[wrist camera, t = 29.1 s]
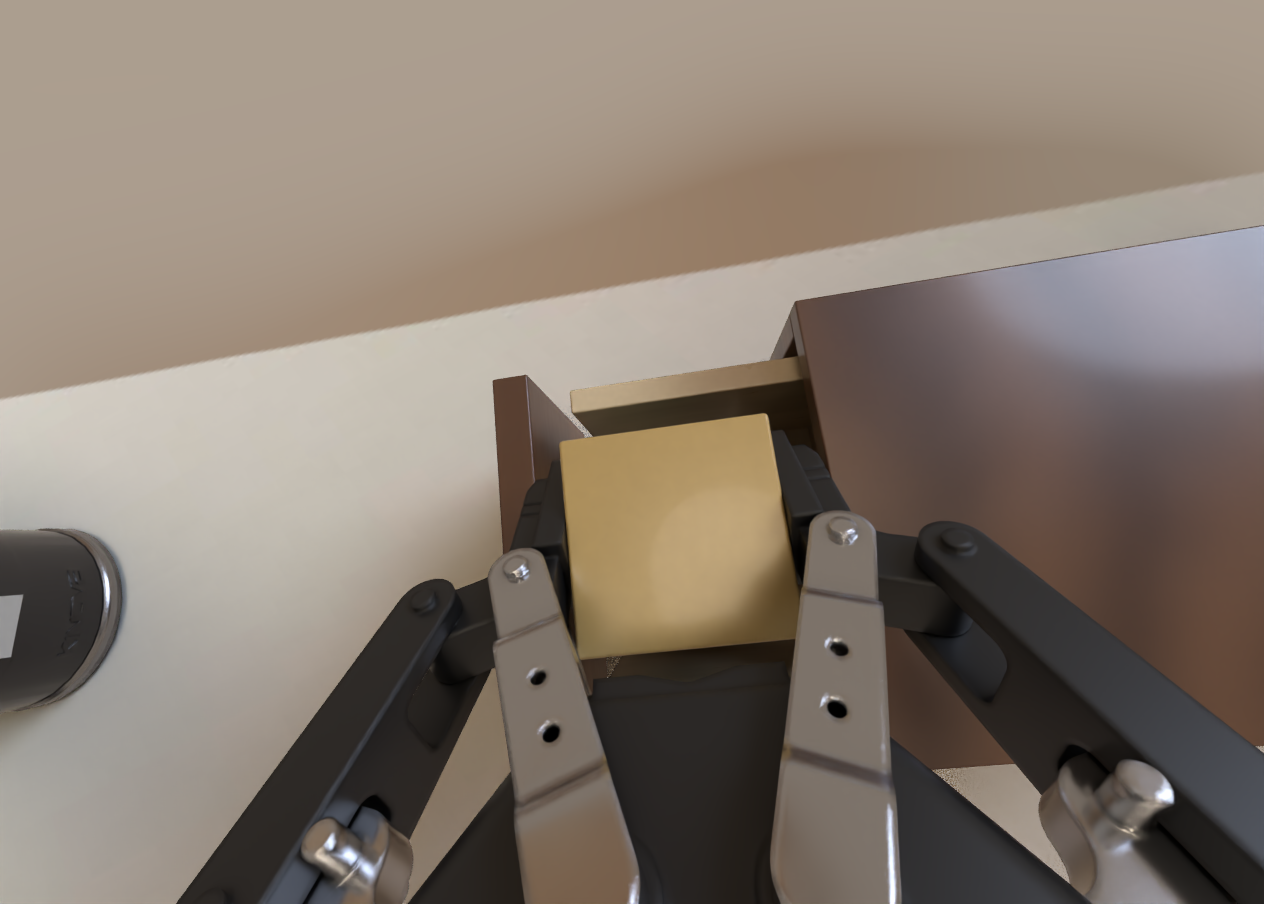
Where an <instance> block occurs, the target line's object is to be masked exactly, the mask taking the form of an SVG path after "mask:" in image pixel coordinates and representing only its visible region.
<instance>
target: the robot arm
mask: <svg viewBox="0 0 1264 904" xmlns="http://www.w3.org/2000/svg"><path fill="white" fill-rule="evenodd" d="M771 435H772V441H773V447H774V452H775V458H776V463H777V469H778V475H779V480H780V486H781V492H782V497H783V503H784V509H785V514H786V520H787V525H788V531H789V537H790V542H791V548H792V553H793V559H794V565H795V570H796V576H797V581H798V585H799V584H802V585H803V588H802V589H801V596H800V605H799V614H798V622H797V631H796V640H795V648H794V657H793V666H792V675H791V677H790V676H789V675H788V672H787V668H786V665H785V661H779V662H768V663H758V664H747V665H737V666H734V667H731V668H728V669H725V670H722V671H720V672H717V673H714V674H711V675H708V676H706V677H703V678H700V679H697V680H694V681H691V682H681V681H675V680H668V679H662V678H656V677H650V676H643V675H632V676H621V677H611V678H600V679H593V690H592V693H591V690H590V687H589V684H588V681H587V678H586V675H585V672H584V669H583V666H582V663H581V660H580V657H579V654H578V651H577V648H576V644H575V641H574V638H573V635H572V632H571V629H570V626H569V623H568V622H569V615H570V609H571V608H573V602H572V590H571V579H570V567H569V555H568V544H567V532H566V520H565V509H564V497H563V485H562V474H561V462H560V460H553V461H552V462H551V466H550V470H549V474H548V478H545V479H537V480H536V481H535V482H534V484H533V485H532V486H531V487H530V488H529V490H528V491H527V493H526V496H525V499H524V503H523V507H522V510H521V513H520V517H519V520H518V524H517V527H516V530H515V534H514V537H513V541H512V544H511V548H510V551H509V552H508V553H506V554H504V555H503V556H501V557H500V558H499V559H498V560H496V561H495V563H494V564H493V565H492V567H491V568H490V571H489V574H488V577H487V578H485V579H483V580H481V581H478V582H476V583H473V584H470V585H468V586H465V587H462V588H460V589H457V590H455V588H454V586H453V585H452V584H451V583H450V582H449V581H447V580H444V579H433V580H428V581H425V582H423V583H420V584H419V585H417V586H415V587H413V588H412V589H411V590H409V591H408V592H407V593H406V594H405V595H404V596H403V597H402V598H401V599H400V601H399V602H398V603H397V605H396V606H395V607H394V609H393V610H392V611H391V613H390V614H389V616H388V617H387V618H386V620H385V621H384V622H383V624H382V625H381V626H380V628H379V629H378V630H377V632H376V633H375V634H374V636H373V637H372V639H371V640H370V641H369V643H368V644H367V645H366V647H365V648H364V649H363V651H362V652H361V653H360V655H359V656H358V658H357V659H356V660H355V662H354V663H353V664H352V666H351V667H350V668H349V670H348V671H347V672H346V674H345V675H344V677H343V678H342V679H341V681H340V682H339V683H338V685H337V686H336V687H335V689H334V690H333V691H332V693H331V694H330V696H329V697H328V698H327V700H326V701H325V702H324V704H323V705H322V706H321V708H320V709H319V710H318V712H317V713H316V715H315V716H314V717H313V719H312V720H311V721H310V723H309V724H308V725H307V727H306V728H305V729H304V731H303V732H302V734H301V735H300V736H299V738H298V739H297V740H296V742H295V743H294V744H293V746H292V747H291V748H290V750H289V751H288V753H287V754H286V755H285V757H284V758H283V759H282V761H281V762H280V763H279V765H278V766H277V767H276V769H275V770H274V772H273V773H272V774H271V776H270V777H269V778H268V780H267V781H266V782H265V784H264V785H263V786H262V788H261V789H260V791H259V792H258V793H257V795H256V796H255V797H254V799H253V800H252V801H251V803H250V804H249V805H248V807H247V808H246V809H245V811H244V812H243V814H242V815H241V816H240V818H239V819H238V820H237V822H236V823H235V824H234V826H233V827H232V828H231V830H230V831H229V833H228V834H227V835H226V837H225V838H224V839H223V841H222V842H221V843H220V845H219V846H218V847H217V849H216V850H215V852H214V853H213V854H212V856H211V857H210V858H209V860H208V861H207V862H206V864H205V865H204V866H203V868H202V869H201V871H200V872H199V873H198V875H197V876H196V877H195V879H194V880H193V881H192V883H191V884H190V885H189V887H188V888H187V890H186V891H185V892H184V894H183V895H182V896H181V898H180V899H179V900H178V902H177V903H176V904H402V903H403V902H404V900H405V898H406V896H407V894H408V890H409V879H410V876H411V872H412V868H413V850H412V846H411V843H410V841H409V839H410V837H411V835H412V833H413V831H414V829H415V827H416V825H417V823H418V821H419V819H420V817H421V815H422V813H423V810H424V808H425V806H426V804H427V802H428V800H429V798H430V796H431V794H432V792H433V790H434V788H435V786H436V784H437V782H438V779H439V777H440V775H441V773H442V771H443V769H444V767H445V765H446V763H447V761H448V759H449V757H450V755H451V753H452V751H453V748H454V746H455V744H456V742H457V740H458V738H459V736H460V734H461V732H462V730H463V728H464V726H465V724H466V722H467V720H468V717H469V715H470V713H471V711H472V709H473V707H474V705H475V703H476V701H477V699H478V697H479V695H480V693H481V691H482V689H483V686H484V684H485V682H486V680H487V678H488V676H489V674H490V672H491V669H493V668H495V667H496V674H497V681H498V687H499V694H500V701H501V708H502V714H503V721H504V728H505V735H506V741H507V748H508V755H509V761H510V768H511V772H510V773H509V775H508V776H507V777H506V778H505V780H504V781H503V782H502V784H501V785H500V786H499V787H498V789H497V790H496V791H495V793H494V794H493V795H492V796H491V798H490V799H489V800H488V802H487V803H486V804H485V805H484V807H483V808H482V809H481V810H480V812H479V813H478V814H477V816H476V817H475V818H474V819H473V821H472V822H471V823H470V825H469V826H468V827H467V828H466V830H465V831H464V832H463V834H462V835H461V836H460V837H459V839H458V840H457V841H456V842H455V844H454V845H453V846H452V848H451V849H450V850H449V851H448V853H447V854H446V855H445V857H444V858H443V859H442V860H441V862H440V863H439V864H438V865H437V867H436V868H435V869H434V871H433V872H432V873H431V874H430V876H429V877H428V878H427V880H426V881H425V882H424V883H423V885H422V886H421V887H420V889H419V890H418V891H417V892H416V894H415V895H414V896H413V897H412V899H411V900H410V901H409V903H408V904H1264V753H1263V752H1261V751H1260V750H1259V749H1258V748H1256V747H1255V746H1254V745H1253V744H1251V743H1250V742H1249V741H1247V740H1246V739H1245V738H1244V737H1242V736H1241V735H1240V734H1239V733H1237V732H1236V731H1235V730H1233V729H1232V728H1231V727H1230V726H1228V725H1227V724H1226V723H1225V722H1223V721H1222V720H1221V719H1219V718H1218V717H1217V716H1216V715H1214V714H1213V713H1212V712H1211V711H1209V710H1208V709H1207V708H1205V707H1204V706H1203V705H1202V704H1200V703H1199V702H1198V701H1197V700H1195V699H1194V698H1193V697H1192V696H1190V695H1189V694H1188V693H1186V692H1185V691H1184V690H1183V689H1181V688H1180V687H1179V686H1178V685H1176V684H1175V683H1174V682H1172V681H1171V680H1170V679H1169V678H1167V677H1166V676H1165V675H1164V674H1162V673H1161V672H1160V671H1158V670H1157V669H1156V668H1155V667H1153V666H1152V665H1151V664H1150V663H1148V662H1147V661H1146V660H1144V659H1143V658H1142V657H1141V656H1139V655H1138V654H1137V653H1136V652H1134V651H1133V650H1132V649H1130V648H1129V647H1128V646H1127V645H1125V644H1124V643H1123V642H1122V641H1120V640H1119V639H1118V638H1116V637H1115V636H1114V635H1113V634H1111V633H1110V632H1109V631H1108V630H1106V629H1105V628H1104V627H1103V626H1101V625H1100V624H1099V623H1097V622H1096V621H1095V620H1094V619H1092V618H1091V617H1090V616H1089V615H1087V614H1086V613H1085V612H1083V611H1082V610H1081V609H1080V608H1078V607H1077V606H1076V605H1075V604H1073V603H1072V602H1071V601H1069V600H1068V599H1067V598H1066V597H1064V596H1063V595H1062V594H1061V593H1059V592H1058V591H1057V590H1055V589H1054V588H1053V587H1052V586H1050V585H1049V584H1048V583H1047V582H1045V581H1044V580H1043V579H1041V578H1040V577H1039V576H1038V575H1036V574H1035V573H1034V572H1033V571H1031V570H1030V569H1029V568H1027V567H1026V566H1025V565H1024V564H1022V563H1021V562H1020V561H1019V560H1017V559H1016V558H1015V557H1014V556H1012V555H1011V554H1010V553H1008V552H1007V551H1006V550H1005V549H1003V548H1002V547H1001V546H1000V545H998V544H997V543H996V542H994V541H993V540H992V539H991V538H989V537H988V536H987V535H986V534H984V533H983V532H981V531H980V530H978V529H976V528H974V527H971V526H969V525H966V524H963V523H959V522H953V521H937V522H932V523H929V524H927V525H925V526H924V527H923V528H922V529H921V530H920V532H919V534H918V537H914V536H905V535H896V534H889V533H884V532H880V531H877V530H875V529H874V527H873V525H872V524H871V523H870V522H869V521H868V520H867V519H865V518H864V517H862V516H860V515H858V514H855V513H852V512H851V510H850V508H849V507H848V505H847V503H846V501H845V500H844V498H843V496H842V494H841V493H840V491H839V489H838V488H837V486H836V484H835V482H834V481H833V479H832V478H831V477H830V474H829V472H828V470H827V468H825V465H824V463H823V462H822V460H821V458H820V456H819V455H818V453H816V452H815V451H813V450H812V449H811V448H809V447H808V446H806V445H805V444H802V445H794V446H791V444H790V442H789V440H788V438H787V436H786V434H785V432H784V431H783V430H782V429H781V430H774V431H771ZM121 601H122V592H121V582H120V577H119V572H118V569H117V566H116V564H115V562H114V560H113V558H112V556H111V554H110V553H109V551H108V550H107V549H106V547H105V546H104V545H103V544H102V543H101V542H99V541H98V540H97V539H96V538H94V537H92V536H91V535H89V534H87V533H84V532H81V531H78V530H72V529H38V530H4V529H0V714H1V713H5V712H9V711H20V710H25V709H30V708H34V707H38V706H42V705H45V704H49V703H52V702H54V701H57V700H59V699H61V698H63V697H65V696H66V695H68V694H69V693H71V692H72V691H74V690H75V689H76V688H78V687H79V686H80V685H81V684H82V683H83V682H84V681H85V680H86V679H87V678H88V677H89V676H90V675H91V674H92V673H93V672H94V670H95V669H96V668H97V667H98V665H99V664H100V662H101V661H102V659H103V658H104V656H105V654H106V653H107V651H108V649H109V647H110V645H111V643H112V640H113V638H114V635H115V632H116V629H117V626H118V622H119V617H120V611H121ZM885 626H888V627H894V628H900V629H903V630H904V632H905V633H906V634H907V636H908V637H909V638H910V639H911V640H912V642H913V643H914V644H915V645H916V646H917V647H918V649H919V650H920V651H921V652H922V653H923V655H924V656H925V657H926V658H927V659H928V661H929V662H930V663H931V664H932V665H933V666H934V668H935V669H936V670H937V671H938V672H939V674H940V675H941V676H942V677H943V678H944V680H945V681H946V682H947V683H948V684H949V686H950V687H951V688H952V689H953V690H954V691H955V693H956V694H957V695H958V696H959V697H960V699H961V700H962V701H963V702H964V703H965V705H966V706H967V707H968V708H969V709H970V710H971V712H972V713H973V714H974V715H975V716H976V718H977V719H978V720H979V721H980V722H981V724H982V725H983V726H984V727H985V728H986V730H987V731H988V732H989V733H990V734H991V735H992V737H993V738H994V739H995V740H996V741H997V743H998V744H999V745H1000V746H1001V747H1002V749H1003V750H1004V751H1005V752H1006V753H1007V754H1008V756H1009V757H1010V758H1011V759H1012V760H1013V762H1014V763H1015V764H1016V765H1017V766H1018V768H1019V769H1020V770H1021V771H1022V772H1023V774H1024V775H1025V776H1026V777H1027V778H1028V779H1029V781H1030V782H1031V783H1032V784H1033V785H1034V787H1035V788H1036V789H1037V790H1038V791H1039V793H1040V794H1041V795H1042V796H1041V798H1040V802H1039V817H1040V821H1041V824H1042V827H1043V829H1044V831H1045V833H1046V835H1047V837H1048V839H1049V840H1050V842H1051V844H1052V845H1053V847H1054V848H1055V850H1056V851H1057V853H1058V855H1059V856H1060V858H1061V860H1062V862H1063V863H1064V865H1065V868H1066V871H1067V873H1068V876H1069V881H1070V884H1069V883H1068V882H1067V881H1065V880H1064V879H1063V878H1062V877H1061V876H1059V875H1058V874H1057V873H1056V872H1054V871H1053V870H1052V869H1051V868H1050V867H1048V866H1047V865H1046V864H1045V863H1044V862H1042V861H1041V860H1040V859H1039V858H1037V857H1036V856H1035V855H1034V854H1033V853H1031V852H1030V851H1029V850H1028V849H1027V848H1025V847H1024V846H1023V845H1022V844H1020V843H1019V842H1018V841H1017V840H1016V839H1014V838H1013V837H1012V836H1011V835H1010V834H1008V833H1007V832H1006V831H1005V830H1003V829H1002V828H1001V827H1000V826H999V825H997V824H996V823H995V822H994V821H993V820H991V819H990V818H989V817H988V816H986V815H985V814H984V813H983V812H982V811H980V810H979V809H978V808H977V807H976V806H974V805H973V804H972V803H971V802H970V801H968V800H967V799H966V798H965V797H963V796H962V795H961V794H960V793H959V792H957V791H956V790H955V789H954V788H953V787H951V786H950V785H949V784H948V783H946V782H945V781H944V780H943V779H942V778H940V777H939V776H938V775H937V774H936V773H934V772H933V771H932V770H931V769H929V768H928V767H927V766H926V765H925V764H923V763H922V762H921V761H920V760H919V759H917V758H916V757H915V756H914V755H912V754H911V753H910V752H909V751H908V750H906V749H905V748H904V747H903V746H902V745H900V744H899V743H898V742H897V741H895V740H894V739H893V738H892V737H891V736H890V731H889V710H888V689H887V668H886V647H885ZM428 669H429V670H428ZM425 674H426V675H425ZM422 679H423V680H422ZM415 691H416V692H415ZM412 696H413V697H412Z"/></svg>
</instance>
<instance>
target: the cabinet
mask: <svg viewBox="0 0 1264 904" xmlns="http://www.w3.org/2000/svg"><path fill="white" fill-rule="evenodd" d="M796 356H798V358H799V363H800V368H801V373H802V378H803V383H804V388H805V393H806V398H807V403H808V408H809V414H810V419H811V424H812V429H813V434H814V439H815V444H816V449H817V453H818V455H819V456H820V458H821V460H822V462H823V463H824V465H825V468H827V470H828V472H829V474H830V477H831V478H832V479H833V481H834V482H835V484H836V486H837V488H838V489H839V491H840V493H841V494H842V496H843V498H844V500H845V501H846V503H847V505H848V507H849V508H850V510H851V512H852V513H855V514H858V515H860V516H862V517H864V518H865V519H867V520H868V521H869V522H870V523H871V524H872V525H873V527H874V529H875V530H877V531H880V532H884V533H889V534H896V535H905V536H914V537H918V534H919V532H920V530H921V529H922V528H923V527H924V526H925V525H927V524H929V523H932V522H937V521H953V522H959V523H963V524H966V525H969V526H971V527H974V528H976V529H978V530H980V531H981V532H983V533H984V534H986V535H987V536H988V537H989V538H991V539H992V540H993V541H994V542H996V543H997V544H998V545H1000V546H1001V547H1002V548H1003V549H1005V550H1006V551H1007V552H1008V553H1010V554H1011V555H1012V556H1014V557H1015V558H1016V559H1017V560H1019V561H1020V562H1021V563H1022V564H1024V565H1025V566H1026V567H1027V568H1029V569H1030V570H1031V571H1033V572H1034V573H1035V574H1036V575H1038V576H1039V577H1040V578H1041V579H1043V580H1044V581H1045V582H1047V583H1048V584H1049V585H1050V586H1052V587H1053V588H1054V589H1055V590H1057V591H1058V592H1059V593H1061V594H1062V595H1063V596H1064V597H1066V598H1067V599H1068V600H1069V601H1071V602H1072V603H1073V604H1075V605H1076V606H1077V607H1078V608H1080V609H1081V610H1082V611H1083V612H1085V613H1086V614H1087V615H1089V616H1090V617H1091V618H1092V619H1094V620H1095V621H1096V622H1097V623H1099V624H1100V625H1101V626H1103V627H1104V628H1105V629H1106V630H1108V631H1109V632H1110V633H1111V634H1113V635H1114V636H1115V637H1116V638H1118V639H1119V640H1120V641H1122V642H1123V643H1124V644H1125V645H1127V646H1128V647H1129V648H1130V649H1132V650H1133V651H1134V652H1136V653H1137V654H1138V655H1139V656H1141V657H1142V658H1143V659H1144V660H1146V661H1147V662H1148V663H1150V664H1151V665H1152V666H1153V667H1155V668H1156V669H1157V670H1158V671H1160V672H1161V673H1162V674H1164V675H1165V676H1166V677H1167V678H1169V679H1170V680H1171V681H1172V682H1174V683H1175V684H1176V685H1178V686H1179V687H1180V688H1181V689H1183V690H1184V691H1185V692H1186V693H1188V694H1189V695H1190V696H1192V697H1193V698H1194V699H1195V700H1197V701H1198V702H1199V703H1200V704H1202V705H1203V706H1204V707H1205V708H1207V709H1208V710H1209V711H1211V712H1212V713H1213V714H1214V715H1216V716H1217V717H1218V718H1219V719H1221V720H1222V721H1223V722H1225V723H1226V724H1227V725H1228V726H1230V727H1231V728H1232V729H1233V730H1235V731H1236V732H1237V733H1239V734H1240V735H1241V736H1242V737H1244V738H1245V739H1246V740H1247V741H1249V742H1250V743H1251V744H1253V745H1254V746H1264V225H1262V226H1255V227H1249V228H1243V229H1237V230H1231V231H1225V232H1218V233H1212V234H1206V235H1200V236H1194V237H1188V238H1181V239H1175V240H1169V241H1163V242H1157V243H1151V244H1144V245H1138V246H1132V247H1126V248H1120V249H1114V250H1107V251H1101V252H1095V253H1089V254H1083V255H1077V256H1071V257H1064V258H1058V259H1052V260H1046V261H1040V262H1034V263H1027V264H1021V265H1015V266H1009V267H1003V268H997V269H990V270H984V271H978V272H972V273H966V274H960V275H953V276H947V277H941V278H935V279H929V280H923V281H916V282H910V283H904V284H898V285H892V286H886V287H880V288H873V289H867V290H861V291H855V292H849V293H843V294H836V295H830V296H824V297H818V298H812V299H806V300H799V301H796V302H795V303H794V305H793V307H792V309H791V312H790V315H789V317H788V319H787V321H786V323H785V326H784V328H783V330H782V333H781V335H780V337H779V340H778V342H777V344H776V347H775V349H774V351H773V353H772V356H771V358H770V360H776V359H783V358H789V357H796ZM770 360H769V361H770ZM885 647H886V668H887V689H888V710H889V731H890V736H891V737H892V738H893V739H894V740H895V741H897V742H898V743H899V744H900V745H902V746H903V747H904V748H905V749H906V750H908V751H909V752H910V753H911V754H912V755H914V756H915V757H916V758H917V759H919V760H920V761H921V762H922V763H923V764H925V765H926V766H927V767H928V768H929V769H931V770H935V769H949V768H963V767H976V766H990V765H1004V764H1015V763H1014V762H1013V760H1012V759H1011V758H1010V757H1009V756H1008V754H1007V753H1006V752H1005V751H1004V750H1003V749H1002V747H1001V746H1000V745H999V744H998V743H997V741H996V740H995V739H994V738H993V737H992V735H991V734H990V733H989V732H988V731H987V730H986V728H985V727H984V726H983V725H982V724H981V722H980V721H979V720H978V719H977V718H976V716H975V715H974V714H973V713H972V712H971V710H970V709H969V708H968V707H967V706H966V705H965V703H964V702H963V701H962V700H961V699H960V697H959V696H958V695H957V694H956V693H955V691H954V690H953V689H952V688H951V687H950V686H949V684H948V683H947V682H946V681H945V680H944V678H943V677H942V676H941V675H940V674H939V672H938V671H937V670H936V669H935V668H934V666H933V665H932V664H931V663H930V662H929V661H928V659H927V658H926V657H925V656H924V655H923V653H922V652H921V651H920V650H919V649H918V647H917V646H916V645H915V644H914V643H913V642H912V640H911V639H910V638H909V637H908V636H907V634H906V633H905V632H904V630H903V629H900V628H894V627H888V626H885Z"/></svg>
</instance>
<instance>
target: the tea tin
mask: <svg viewBox="0 0 1264 904" xmlns="http://www.w3.org/2000/svg"><path fill="white" fill-rule="evenodd" d="M559 450H560V462H561V474H562V485H563V497H564V509H565V520H566V532H567V544H568V555H569V567H570V579H571V590H572V602H573V614H574V625H575V637H576V648H577V651H578V654H579V657H580V659H581V660H585V659H595V658H605V657H616V656H626V655H636V654H646V653H657V652H667V651H677V650H687V649H698V648H708V647H718V646H728V645H739V644H749V643H759V642H769V641H779V640H790V639H796V631H797V622H798V614H799V605H800V593H799V587H798V581H797V576H796V570H795V565H794V559H793V553H792V548H791V542H790V537H789V531H788V525H787V520H786V514H785V509H784V503H783V497H782V492H781V486H780V480H779V475H778V469H777V463H776V458H775V452H774V447H773V441H772V435H771V430H770V424H769V418H768V415H767V414H765V413H761V414H754V415H747V416H739V417H732V418H725V419H718V420H711V421H703V422H696V423H689V424H682V425H675V426H668V427H660V428H653V429H646V430H639V431H632V432H624V433H617V434H610V435H603V436H596V437H588V438H581V439H574V440H567V441H562V442H560V444H559Z"/></svg>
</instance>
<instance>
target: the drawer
mask: <svg viewBox="0 0 1264 904" xmlns="http://www.w3.org/2000/svg"><path fill="white" fill-rule="evenodd" d="M493 395H494V411H495V427H496V444H497V460H498V476H499V493H500V509H501V525H502V542H503V555H504V554H506V553H508V552H509V551H510V548H511V544H512V541H513V537H514V534H515V530H516V527H517V524H518V520H519V517H520V513H521V510H522V507H523V503H524V499H525V496H526V493H527V491H528V490H529V488H530V487H531V486H532V485H533V484H534V482H535V481H536V480H537V479H545V478H548V474H549V470H550V466H551V462H552V461H553V460H560V450H559V444H560V442H562V441H567V440H574V439H581V438H584V434H583V433H582V432H581V431H580V430H579V429H578V428H577V427H576V426H575V425H574V424H573V423H572V422H571V421H570V420H569V418H568V417H567V416H566V415H565V414H564V413H563V412H562V411H561V410H560V409H559V408H558V407H557V406H556V405H555V404H554V403H553V402H552V401H551V400H550V399H549V398H548V397H547V396H546V395H545V394H544V392H543V391H542V390H541V389H540V388H539V387H538V386H537V385H536V384H535V383H534V382H533V381H532V380H531V379H530V378H529V377H528V376H527V375H522V376H516V377H509V378H503V379H497V380H493ZM570 399H571V409H572V413H573V414H574V416H575V417H576V418H577V419H578V420H579V421H580V422H581V423H582V425H583V426H584V427H585V428H586V429H587V430H588V431H589V432H590V434H591V435H592V436H593V437H596V436H603V435H610V434H617V433H624V432H632V431H639V430H646V429H653V428H660V427H668V426H675V425H682V424H689V423H696V422H703V421H711V420H718V419H725V418H732V417H739V416H747V415H754V414H761V413H765V414H767V415H768V418H769V424H770V430H771V431H774V430H781V429H782V430H783V431H784V432H785V434H786V436H787V438H788V440H789V442H790V444H791V446H794V445H802V444H805V445H806V446H808V447H809V448H811V449H812V450H813V451H815V452H816V453H817V449H816V444H815V439H814V434H813V429H812V424H811V419H810V414H809V408H808V403H807V398H806V393H805V388H804V383H803V378H802V373H801V368H800V363H799V358H798V356H796V357H789V358H783V359H776V360H770V361H763V362H757V363H750V364H743V365H737V366H730V367H724V368H717V369H711V370H704V371H697V372H691V373H684V374H678V375H671V376H664V377H658V378H651V379H645V380H638V381H632V382H625V383H618V384H612V385H605V386H599V387H592V388H585V389H579V390H572V391H570ZM798 587H799V593H800V596H801V589H802V588H803V585H802V584H799V585H798ZM568 623H569V626H570V629H571V632H572V635H573V638H574V641H575V644H576V637H575V625H574V614H573V608H571V609H570V615H569V622H568ZM795 640H796V639H790V640H779V641H769V642H759V643H749V644H739V645H728V646H718V647H708V648H698V649H687V650H677V651H667V652H657V653H646V654H636V655H626V656H622V657H621V659H620V660H619V662H618V664H617V665H616V667H615V669H614V670H613V672H612V674H611V675H610V677H609V678H611V677H621V676H632V675H643V676H650V677H656V678H662V679H668V680H675V681H681V682H691V681H694V680H697V679H700V678H703V677H706V676H708V675H711V674H714V673H717V672H720V671H722V670H725V669H728V668H731V667H734V666H737V665H747V664H758V663H768V662H779V661H785V665H786V668H787V672H788V675H789V676H790V677H791V675H792V666H793V657H794V648H795ZM580 660H581V659H580ZM581 663H582V666H583V669H584V672H585V675H586V678H587V681H588V684H589V687H590V690H591V693H592V690H593V679H600V678H606V676H607V675H608V670H607V660H606V657H605V658H595V659H585V660H581Z"/></svg>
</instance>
